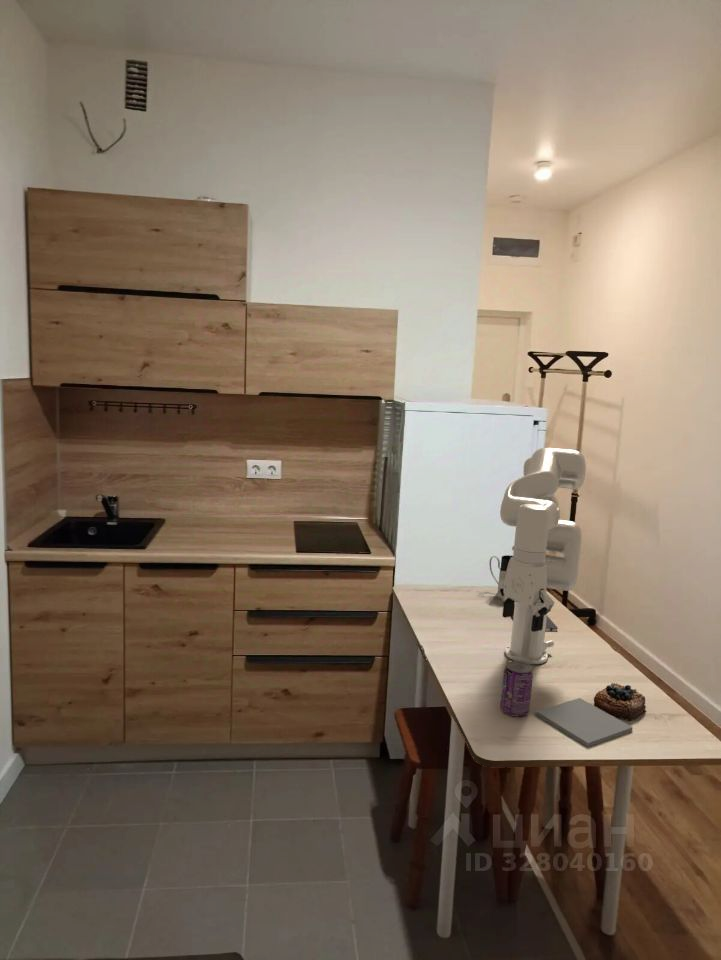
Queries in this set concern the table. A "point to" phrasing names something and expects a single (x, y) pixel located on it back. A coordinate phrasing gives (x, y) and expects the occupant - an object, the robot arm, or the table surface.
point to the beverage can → (516, 688)
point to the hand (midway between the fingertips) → (521, 623)
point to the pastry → (620, 701)
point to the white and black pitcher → (501, 570)
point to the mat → (584, 722)
